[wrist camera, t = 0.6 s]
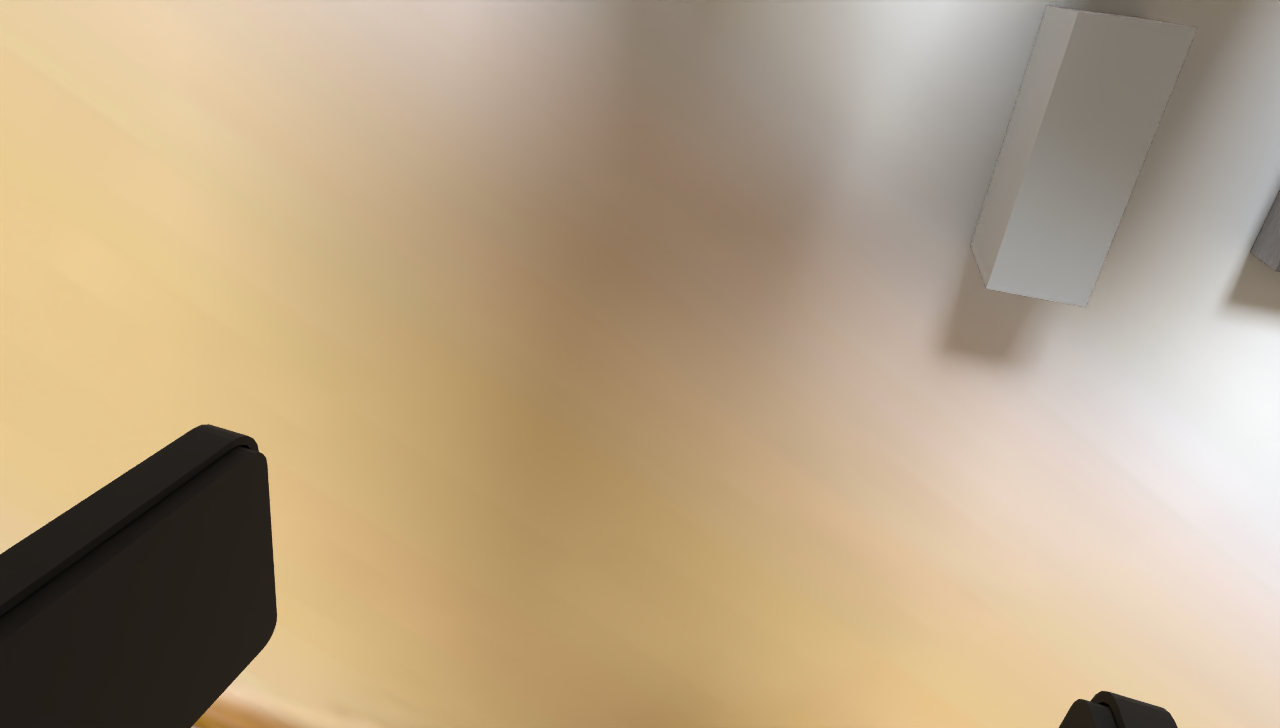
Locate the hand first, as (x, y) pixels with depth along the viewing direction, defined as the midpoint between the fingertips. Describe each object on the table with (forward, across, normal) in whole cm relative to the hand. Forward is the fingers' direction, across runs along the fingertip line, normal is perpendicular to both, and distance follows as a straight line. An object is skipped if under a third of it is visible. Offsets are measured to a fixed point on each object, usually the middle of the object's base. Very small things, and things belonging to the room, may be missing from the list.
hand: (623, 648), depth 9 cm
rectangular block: (+30, -9, -3) cm, 31 cm away
